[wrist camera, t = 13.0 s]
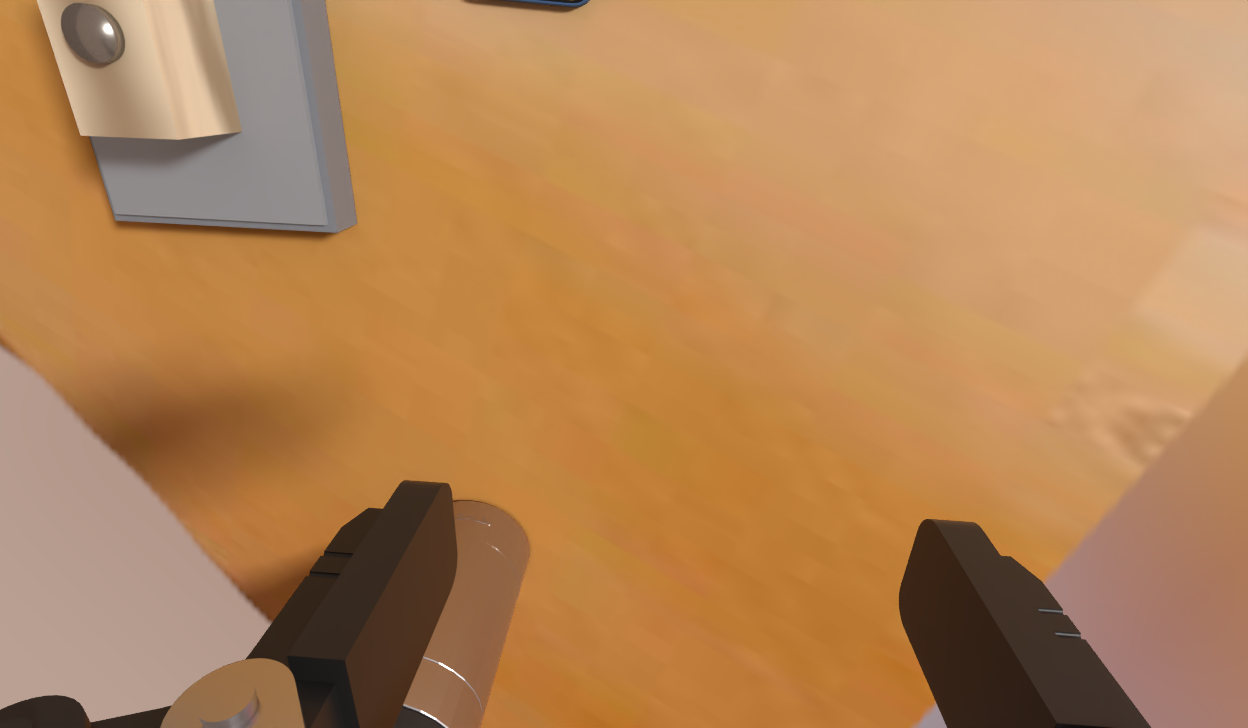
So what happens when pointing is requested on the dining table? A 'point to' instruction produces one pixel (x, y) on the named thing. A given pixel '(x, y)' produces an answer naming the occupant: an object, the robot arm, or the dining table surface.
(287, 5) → the grey stepped lid
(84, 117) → the block
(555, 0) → the smartphone
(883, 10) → the dining table surface
